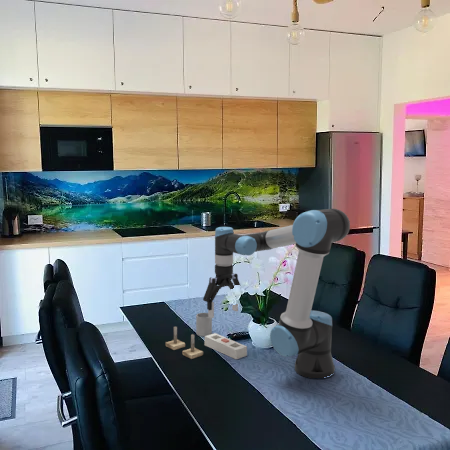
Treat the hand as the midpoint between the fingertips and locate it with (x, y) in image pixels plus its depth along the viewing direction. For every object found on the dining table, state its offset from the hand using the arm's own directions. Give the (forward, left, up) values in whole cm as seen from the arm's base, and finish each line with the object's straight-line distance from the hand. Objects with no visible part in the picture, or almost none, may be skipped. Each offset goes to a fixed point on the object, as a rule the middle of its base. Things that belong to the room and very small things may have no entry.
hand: (223, 313), depth 206 cm
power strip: (-1, 0, -16) cm, 16 cm away
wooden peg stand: (+10, +13, -16) cm, 23 cm away
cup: (+21, -6, -16) cm, 27 cm away
